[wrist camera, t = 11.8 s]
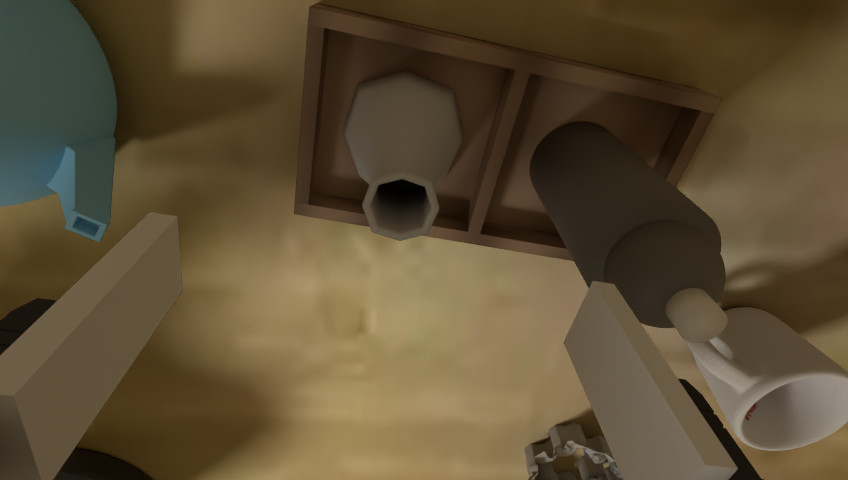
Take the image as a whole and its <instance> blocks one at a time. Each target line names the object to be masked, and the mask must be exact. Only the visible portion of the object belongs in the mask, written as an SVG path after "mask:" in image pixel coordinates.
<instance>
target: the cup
mask: <svg viewBox="0 0 848 480" xmlns="http://www.w3.org/2000/svg"><path fill="white" fill-rule="evenodd" d="M724 312H725V314H726V315H727V318H728V321H727V325H726V327H725V329H724V330H723V331H722V332H721V333H720V334H719V335H718V336H717V337H715V338H713V339H711V340H709V341H706V342H702V343H692V342H688V341H687V344H688V346H689V348H690V349H691V351H692V352H693V355H694V358H695V361H696V363H697V365H698V367H699V369H700V371H701V373H702V375H703V376H704V378H705V380H706V382H707V384H708V385H709V387H710V389H711V391H712V393H713V395H714V396H715V398H716V400H717V402H718V404H719V405H720V407H721V409H722V411H723V413H724V415H725V416H726V418H727V420H728V422H729V424H730V425H731V427H732V429H733V431H734V433H735V434H736V435H737V437H738V438H739V439H740V440H741V441H742V442H744V443H745V444H747V445H749V446H751V447H754V448H757V449H761V450H770V451H777V450H788V449H794V448H798V447H803V446H806V445H808V444H811V443H814V442H817V441H819V440H821V439H823V438H825V437H827V436H829V435H831V434H832V433H834V432H835V431H837V430H838V429H840V428H841V427H842V426H843V425H845V424H846V423H847V422H848V372H847V371H846V370H844V369H843V368H842V367H841V366H839V365H838V364H837V363H835V362H834V361H833V360H831V359H830V358H829V357H828V356H826V355H825V354H824V353H822V352H821V351H820V350H819V349H817V348H816V347H815V346H813V345H812V344H811V343H809V342H808V341H807V340H806V339H804V338H803V337H802V336H800V335H799V334H798V333H797V332H795V331H794V330H793V329H791V328H790V327H789V326H787V325H786V324H785V323H784V322H782V321H781V320H779V319H778V318H777V317H775V316H773V315H772V314H770V313H768V312H766V311H764V310H761V309H757V308H752V307H739V308H733V309H729V310H726V311H724Z"/></svg>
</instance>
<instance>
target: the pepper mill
mask: <svg viewBox="0 0 848 480" xmlns="http://www.w3.org/2000/svg"><path fill="white" fill-rule="evenodd" d="M529 169H530V179H531V182H532V185H533V187H534V189H535V191H536V193H537V194H538V196H539V198H540V200H541V202H542V204H543V205H544V207H545V209H546V211H547V213H548V214H549V216H550V218H551V220H552V222H553V224H554V225H555V227H556V229H557V231H558V233H559V235H560V236H561V238H562V240H563V242H564V244H565V245H566V247H567V249H568V251H569V253H570V255H571V256H572V258H573V260H574V262H575V264H576V266H577V267H578V269H579V271H580V273H581V275H582V276H583V278H584V280H585V282H586V284H587V286H588V287H589V288H590V286H591V283H592V281H598V282H604V283H610V284H614V285H615V286H616V288H617V289H618V291H619V292H620V294H621V295H622V297H623V298H624V300H625V301H626V303H627V304H628V306H629V307H630V309H631V310H632V312H633V313H634V315H635V316H636V318H637V319H638V320H639V322H640V323H642V324H645V325H648V326H653V327H658V328H676V329H677V331H678V332H679V333H680V335H681V336H682V337H683V339H685V340H686V341H688V342H692V343H702V342H706V341H709V340H711V339H713V338H715V337H717V336H718V335H719V334H720V333H721V332H722V331H723V330H724V329H725V327H726V325H727V321H728V318H727V315H726V314H725V312H724V311H723V310H722V309H721V308H720V307H719V306H718V305H717V302H718V300H719V299H720V297H721V294H722V292H723V289H724V285H725V266H724V262H723V259H722V256H721V254H720V252H721V236H720V233H719V230H718V228H717V226H716V224H715V222H714V221H713V220H712V218H710V217H709V216H708V215H707V214H706V213H705V212H704V211H703V210H701V209H700V208H699V207H698V206H697V205H695V204H694V203H693V202H692V201H691V200H690V199H688V198H687V197H686V196H685V195H684V194H683V193H681V192H680V191H679V190H678V189H677V188H675V187H674V186H673V185H672V184H671V183H670V182H668V181H667V180H666V179H665V178H664V177H662V176H661V175H660V174H659V173H658V172H657V171H655V170H654V169H653V168H652V167H651V166H650V165H648V164H647V163H646V162H645V161H644V160H642V159H641V158H640V157H639V156H638V155H637V154H635V153H634V152H633V151H632V150H631V149H629V148H628V147H627V146H626V145H625V144H624V143H622V142H621V141H620V140H619V139H618V138H617V137H615V136H614V135H613V134H612V133H611V132H609V131H608V130H607V129H606V128H604V127H603V126H601V125H599V124H596V123H593V122H587V121H577V122H571V123H567V124H564V125H562V126H560V127H558V128H556V129H554V130H553V131H551V132H550V133H549V134H548V135H546V136H545V137H544V138H543V139H542V140H541V142H540V143H539V144H538V146H537V147H536V149H535V151H534V153H533V155H532V158H531V162H530V168H529Z"/></svg>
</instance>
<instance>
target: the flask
mask: <svg viewBox="0 0 848 480" xmlns="http://www.w3.org/2000/svg"><path fill="white" fill-rule="evenodd" d="M343 133H344V136H345V139H346V141H347V144H348V147H349V150H350V152H351V155H352V158H353V161H354V163H355V166H356V169H357V171H358V174H359V175H360V177H361V178H363V179H364V180H365V181H366V182H367V183H368V184H369V188H368V190H367V193H366V196H365V198H364V201H363V204H362V207H363V209H364V212H365V215H366V217H367V220H368V223H369V225H370V228H371V231H372V232H374V233H377V234H380V235H383V236H386V237H389V238H392V239H395V240H399V241H401V240H405V239H409V238H414V237H418V236H422V235H426V234H428V233H429V231H430V228H431V226H432V224H433V222H434V220H435V218H436V216H437V213H438V211H439V204H438V201H437V197H436V193H435V190H434V187H435V186H437V185H438V184H439V183H441V182H442V181H443V180H444V179H445V178H446V176H447V174H448V172H449V170H450V168H451V165H452V163H453V161H454V159H455V157H456V154H457V152H458V150H459V148H460V146H461V144H462V141H463V139H464V133H463V128H462V124H461V120H460V115H459V111H458V107H457V102H456V98H455V94H454V90H453V89H451V88H448V87H446V86H443V85H441V84H439V83H436V82H434V81H431V80H429V79H426V78H424V77H422V76H419V75H417V74H414V73H412V72H409V71H407V70H406V71H402V72H399V73H395V74H392V75H388V76H385V77H381V78H378V79H374V80H371V81H367V82H364V83H360V84H357V87H356V90H355V93H354V97H353V100H352V103H351V106H350V109H349V112H348V115H347V119H346V122H345V125H344V128H343Z"/></svg>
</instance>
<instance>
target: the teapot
mask: <svg viewBox="0 0 848 480" xmlns="http://www.w3.org/2000/svg"><path fill="white" fill-rule="evenodd" d="M116 120H117V98H116V90H115V85H114V81H113V76H112V73H111V70H110V67H109V64H108V61H107V59H106V57H105V54H104V52H103V50H102V48H101V46H100V44H99V42H98V40H97V38H96V37H95V35H94V33H93V32H92V30H91V28H90V26H89V25H88V23H87V22H86V21H85V19H84V18H83V16H82V15H81V14H80V12H79V11H78V10H77V8H76V7H75V6H74V5H73V3H72V2H71V1H70V0H0V206H8V205H15V204H20V203H24V202H28V201H32V200H36V199H39V198H43V197H46V196H49V195H52V194H55V193H58V194H59V198H60V201H61V205H62V209H63V212H64V216H65V219H66V225H65V229H67V230H69V231H72V232H74V233H77V234H79V235H82V236H84V237H87V238H89V239H91V240H94V241H96V242H99V243H100V241H101V240H102V238H103V236H104V234H105V232H106V230H107V228H108V225H109V223H110V215H111V201H112V187H113V173H114V159H115V146H116V138H114V137H113V135H114V131H115V126H116Z"/></svg>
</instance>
